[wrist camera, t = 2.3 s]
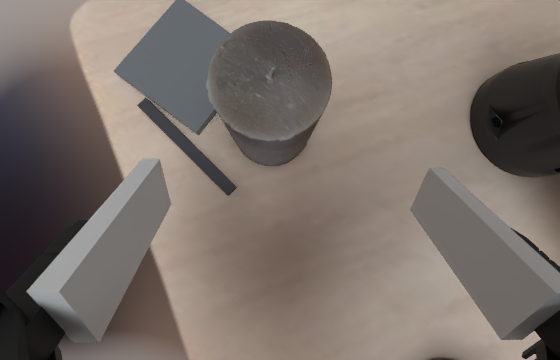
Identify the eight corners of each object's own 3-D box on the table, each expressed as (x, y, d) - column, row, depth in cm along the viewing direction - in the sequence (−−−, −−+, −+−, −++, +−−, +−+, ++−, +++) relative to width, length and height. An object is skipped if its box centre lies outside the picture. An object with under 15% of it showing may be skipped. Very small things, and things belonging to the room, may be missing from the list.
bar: (151, 102, 32) (145, 97, 31) (237, 187, 32) (235, 187, 30) (143, 109, 32) (137, 105, 31) (229, 195, 32) (227, 195, 30)
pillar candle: (290, 84, 33) (305, -14, 18) (319, 151, 32) (359, 106, 17) (222, 111, 32) (179, 31, 17) (250, 179, 32) (230, 157, 17)
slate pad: (182, 3, 33) (179, -4, 32) (259, 59, 33) (259, 54, 32) (119, 76, 32) (113, 71, 31) (198, 135, 32) (196, 132, 31)
